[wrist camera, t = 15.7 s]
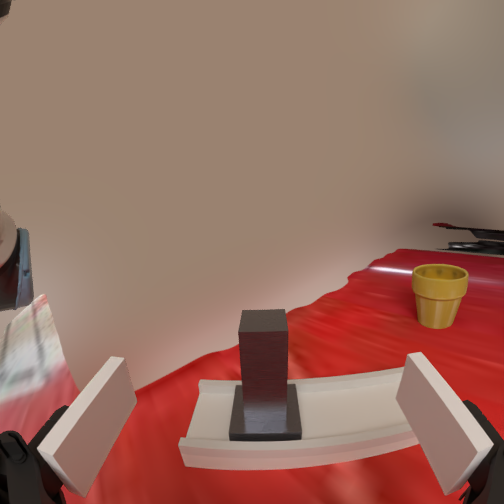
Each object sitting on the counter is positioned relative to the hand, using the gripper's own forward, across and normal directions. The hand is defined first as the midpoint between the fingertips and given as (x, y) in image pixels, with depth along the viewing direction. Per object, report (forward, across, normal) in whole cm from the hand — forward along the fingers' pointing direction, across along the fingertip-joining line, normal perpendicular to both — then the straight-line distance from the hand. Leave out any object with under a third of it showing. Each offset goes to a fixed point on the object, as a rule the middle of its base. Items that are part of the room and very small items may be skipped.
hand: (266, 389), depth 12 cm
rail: (+10, +6, -14) cm, 18 cm away
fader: (+10, 0, -12) cm, 15 cm away
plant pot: (+30, +30, -14) cm, 45 cm away
